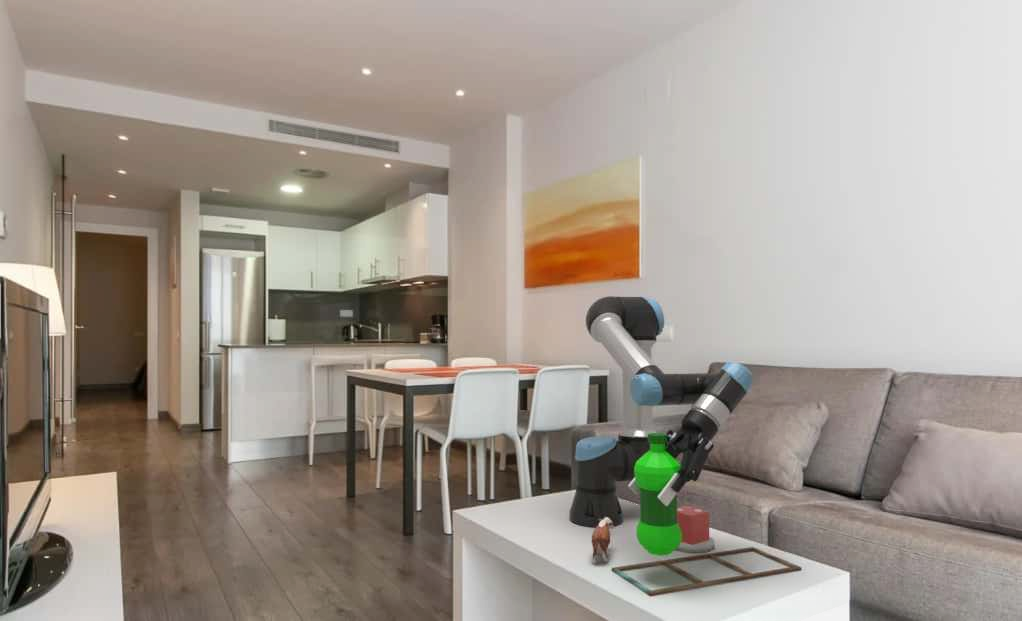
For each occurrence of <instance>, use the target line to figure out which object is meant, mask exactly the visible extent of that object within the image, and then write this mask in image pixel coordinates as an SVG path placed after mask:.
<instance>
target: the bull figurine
mask: <svg viewBox="0 0 1022 621" xmlns="http://www.w3.org/2000/svg"><path fill="white" fill-rule="evenodd" d="M598 521H599V522H600V523H599V524H598V526H597V527H595V529H594V530H593V532H592V534H591V545H592V558H593V559H592V561H591V562H592V564H594V565H596V564H597V559H596V557H597V555H598V554H601V556H602V559H603V561H604V563H609V560H608V557H609V556H610V554H609V549H608V548H609V545H610V543H611V531H610V530H613V529H614V526H613V522H612V521H611V520H610V519H609V518H608V517H605V518H604V520H602V519H598Z"/></svg>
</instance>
